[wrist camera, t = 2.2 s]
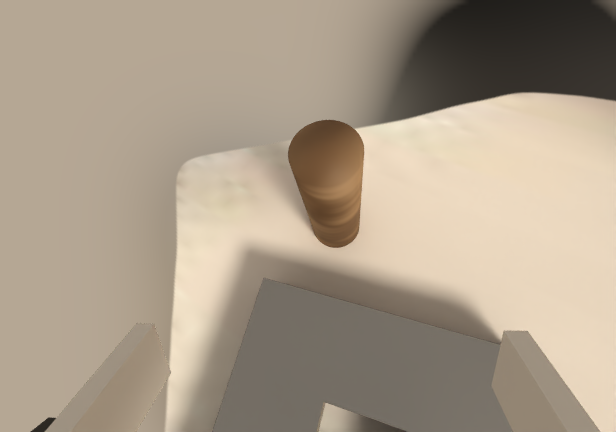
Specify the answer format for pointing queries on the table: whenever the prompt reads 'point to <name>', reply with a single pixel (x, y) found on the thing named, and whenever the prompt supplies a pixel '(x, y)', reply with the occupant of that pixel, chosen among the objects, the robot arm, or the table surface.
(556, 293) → the table surface
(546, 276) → the table surface
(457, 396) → the socket
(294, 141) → the peg
